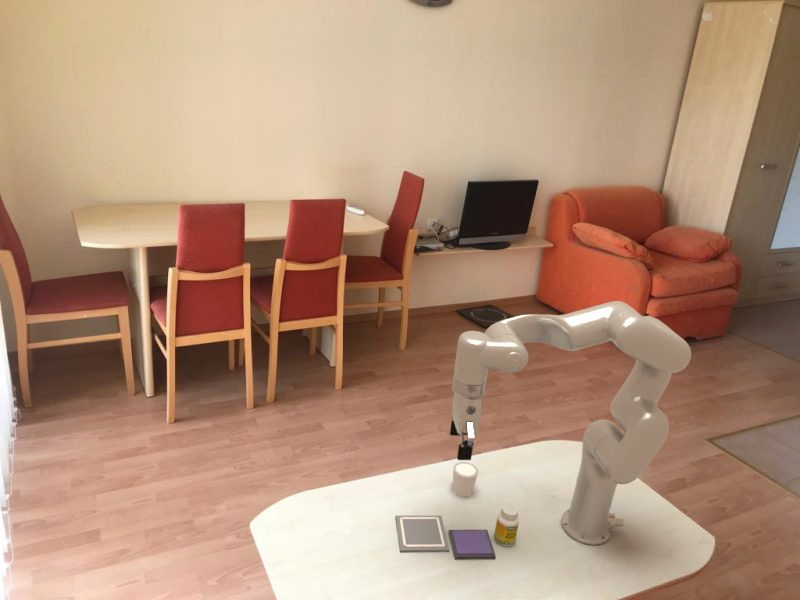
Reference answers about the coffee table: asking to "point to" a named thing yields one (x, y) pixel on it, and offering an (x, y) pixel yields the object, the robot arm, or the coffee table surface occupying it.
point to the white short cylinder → (464, 478)
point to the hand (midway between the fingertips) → (460, 446)
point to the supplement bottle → (507, 525)
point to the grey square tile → (421, 534)
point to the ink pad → (471, 544)
